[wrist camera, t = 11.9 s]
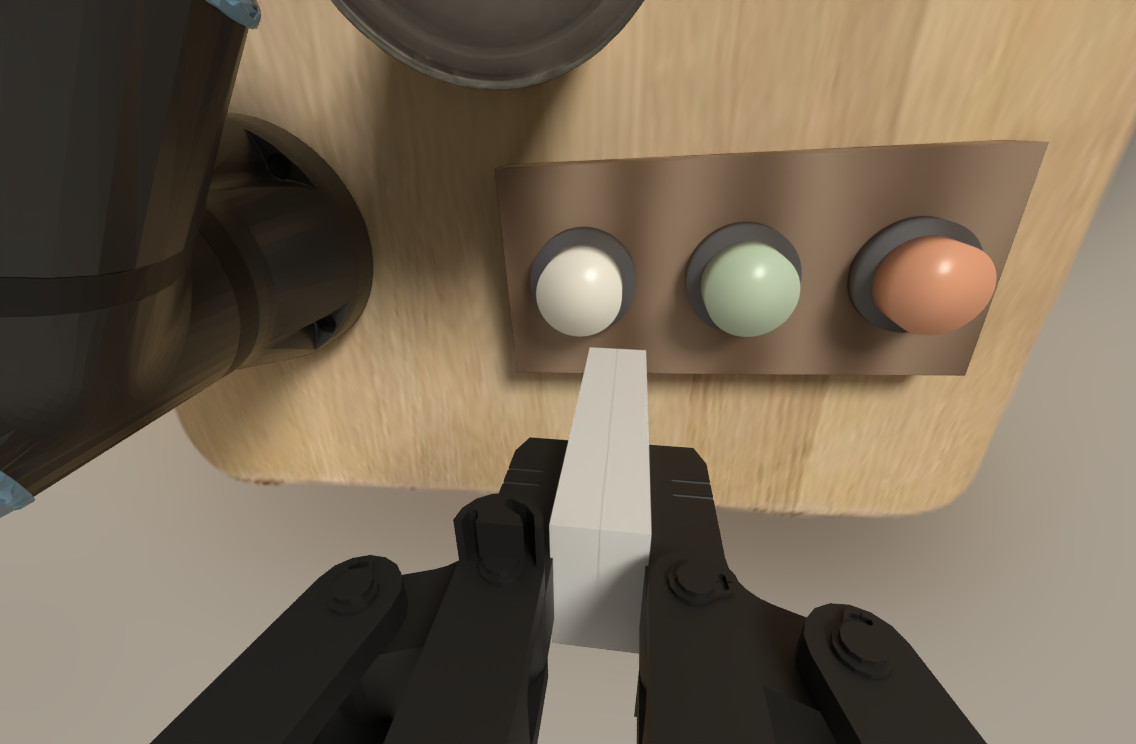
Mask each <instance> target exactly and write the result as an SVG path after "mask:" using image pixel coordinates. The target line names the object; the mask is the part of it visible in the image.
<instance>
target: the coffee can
mask: <svg viewBox="0 0 1136 744" xmlns="http://www.w3.org/2000/svg"><path fill="white" fill-rule="evenodd" d="M331 1H332V2H333V4H334V5H335V6H336V7H337V9H338V10H339V11H340V12H341V13H342V14H343V15H344V16H345V17H346V18H347V19H348V20H349V21H350V22H351V23H352V24H353V25H354V26H355V27H356V28H357V29H358V30H359V31H360V32H361V33H362V34H363V35H365V36H366V37H367V38H368V39H370V40H371V41H372V42H373V43H375V44H376V45H377V46H378V47H380V48H381V49H382V50H383V51H385V52H386V53H388V54H389V55H391V56H392V57H394V58H396V59H397V60H399V61H401V62H402V63H404V64H406V65H407V66H409V67H411V68H413V69H415V70H417V71H418V72H421V73H423V74H425V75H427V76H430V77H432V78H435V79H438V80H440V81H443V82H446V83H450V84H455V85H459V86H464V87H468V88H475V89H486V90H510V89H517V88H524V87H529V86H533V85H537V84H541V83H544V82H547V81H549V80H551V79H554V78H556V77H558V76H560V75H562V74H564V73H567V72H568V71H570V70H572V69H574V68H576V67H578V66H579V65H581V64H583V63H584V62H586V61H587V60H589V59H590V58H592V57H593V56H594V55H596V54H597V53H598V52H599V51H601V50H602V49H603V48H604V47H605V46H606V45H607V44H608V43H609V42H610V41H611V40H612V39H613V38H614V37H615V36H616V35H617V34H618V33H619V32H620V31H621V30H622V29H623V28H624V27H625V25H626V24H627V23H628V22H629V21H630V19H631V18H632V17H633V15H634V14H635V13H636V11H637V10H638V9H639V7H640V6H641V5H642V3H643V2H644V0H331Z"/></svg>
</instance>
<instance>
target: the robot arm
mask: <svg viewBox="0 0 1136 744" xmlns="http://www.w3.org/2000/svg"><path fill="white" fill-rule="evenodd" d="M260 19H261V11H260V7H259V5H258V3H257V1H256V0H0V518H1V517H3V516H5V515H6V514H8V513H10V512H12V511H14V510H18V509H22V508H23V507H25V506H27V505H29V504H30V503H32V502H34V501H35V499H34V496H36V495H37V494H39V493H40V492H42V491H44V490H45V489H47V488H48V487H50V486H52V485H53V484H55V483H56V482H58V481H59V480H61V479H63V478H64V477H66V476H67V475H69V474H70V473H72V472H74V471H75V470H77V469H79V468H80V467H82V466H83V465H85V464H86V463H88V462H90V461H91V460H92V459H94V458H96V457H97V456H99V455H101V454H102V453H104V452H105V451H107V450H109V449H110V448H112V447H113V446H115V445H116V444H118V443H120V442H121V441H123V440H124V439H126V438H128V437H129V436H131V435H132V434H134V433H135V432H137V431H139V430H140V429H142V428H144V427H145V426H147V425H148V424H150V423H151V422H153V421H155V420H156V419H158V418H159V417H161V416H162V415H164V414H166V413H167V412H169V411H170V410H172V409H174V408H175V407H177V406H178V405H180V404H182V403H183V402H185V401H186V400H188V399H190V398H191V397H193V396H194V395H196V394H197V393H199V392H201V391H202V390H204V389H205V388H207V387H209V386H210V385H212V384H213V383H215V382H216V381H218V380H219V379H221V378H223V377H224V376H226V375H227V374H229V373H231V372H232V371H234V370H237V369H242V368H247V367H252V366H257V365H262V364H268V363H273V362H278V361H283V360H288V359H293V358H298V357H302V356H305V355H308V354H311V353H313V352H315V351H317V350H319V349H321V348H323V347H325V346H326V345H328V344H329V343H331V342H332V341H333V340H335V339H336V338H338V337H339V336H340V335H342V334H343V333H344V332H346V331H347V330H348V329H349V328H350V327H351V326H352V325H353V324H354V323H355V322H356V320H357V319H358V318H359V316H360V315H361V313H362V311H363V310H364V307H365V305H366V303H367V300H368V297H369V294H370V290H371V285H372V277H373V259H372V251H371V245H370V240H369V236H368V232H367V229H366V226H365V223H364V221H363V218H362V216H361V213H360V211H359V209H358V207H357V205H356V203H355V201H354V199H353V198H352V196H351V194H350V192H349V191H348V189H347V188H346V186H345V185H344V183H343V182H342V181H341V179H340V178H339V177H338V175H337V174H336V173H335V172H334V170H333V169H332V168H331V167H330V166H329V165H328V164H327V163H326V162H325V160H323V159H322V158H321V157H320V156H319V155H318V154H317V153H316V152H315V151H314V150H313V149H312V148H310V147H309V146H308V145H307V144H305V143H304V142H303V141H301V140H300V139H298V138H297V137H295V136H294V135H292V134H291V133H289V132H287V131H286V130H284V129H282V128H280V127H278V126H276V125H274V124H271V123H269V122H267V121H264V120H261V119H258V118H255V117H251V116H246V115H241V114H231V113H227V112H228V108H229V104H230V100H231V96H232V92H233V88H234V84H235V80H236V76H237V72H238V68H239V64H240V61H241V57H242V53H243V49H244V45H245V41H246V37H247V33H248V29H249V28H251V29H257V27H258V25H259V23H260ZM453 521H454V528H455V535H456V542H457V549H458V556H459V561H457V562H455V563H453V564H450V565H448V566H445V567H442V568H438V569H434V570H428V571H423V572H416V573H411V574H405V575H401V572H400V570H399V568H398V566H397V564H395V563H394V562H392V561H390V560H389V559H387V558H386V557H380V556H373V555H368V556H362V557H356V558H352V559H349V560H347V561H345V562H342V563H340V564H338V565H335V566H334V567H332V568H331V569H330V570H328V571H327V572H326V573H325V574H324V575H322V576H321V577H319V578H318V579H317V580H316V581H315V582H314V583H313V584H312V585H311V586H310V587H309V588H308V589H307V590H306V591H305V592H304V593H303V594H302V595H301V596H300V597H299V598H298V599H297V600H296V601H295V602H294V603H293V604H292V605H291V606H290V607H289V608H288V609H287V610H286V611H285V612H283V613H282V614H281V616H279V617H278V618H277V619H276V620H275V621H274V622H273V623H272V624H271V625H270V626H269V627H268V628H267V629H266V630H265V631H264V632H263V633H262V634H261V635H260V636H259V637H258V638H257V639H256V640H255V641H254V642H253V643H252V644H251V645H250V646H249V647H248V648H247V649H246V650H245V651H244V652H243V653H242V654H241V655H240V656H239V657H238V658H237V659H236V660H235V661H234V662H232V663H231V665H229V666H228V667H227V668H226V669H225V670H224V671H223V672H222V674H220V675H219V676H218V677H217V678H216V679H215V680H214V681H213V682H212V683H211V684H210V685H209V686H208V687H207V688H206V689H205V690H204V691H203V692H202V693H201V694H200V695H199V696H198V697H197V698H196V699H195V700H194V701H193V702H192V703H191V704H190V705H189V706H188V707H187V708H186V709H185V710H184V711H183V712H181V714H179V715H178V717H176V718H175V719H174V720H173V721H172V722H171V723H170V724H169V725H168V726H167V727H166V728H165V729H164V730H163V731H162V732H161V733H160V734H159V735H158V736H157V737H156V738H155V739H154V740H153V741H152V742H151V743H150V744H537V742H538V736H539V730H540V723H541V717H542V711H543V705H544V698H545V693H546V687H547V680H548V651H549V646H550V640H551V635H552V642H553V643H559V644H567V645H575V646H583V647H591V648H599V649H607V650H615V651H623V652H631V653H639V676H638V685H637V695H636V704H635V714H634V716H635V717H637V744H987V743H986V742H985V741H984V740H983V738H982V737H981V735H980V734H979V733H978V732H977V730H976V729H975V728H974V727H973V725H972V724H971V723H970V721H969V720H968V719H967V717H966V716H965V715H964V714H963V712H962V711H961V710H960V708H959V707H958V706H957V704H956V703H955V702H954V701H953V699H952V698H951V697H950V695H949V694H948V693H947V692H946V690H945V689H944V688H943V686H942V685H941V684H940V683H939V681H938V680H937V679H936V677H935V676H934V675H933V674H932V672H931V671H930V670H929V668H928V667H927V666H926V664H925V663H924V662H923V661H922V659H921V658H920V657H919V656H918V654H917V653H916V652H915V650H914V649H913V648H912V646H911V645H910V644H909V643H908V642H907V641H906V640H905V639H904V638H903V637H902V636H901V635H900V634H899V633H898V632H897V631H896V630H895V629H894V628H893V627H892V626H891V625H890V624H888V623H886V622H885V621H883V620H882V619H880V618H879V617H877V616H875V615H874V614H872V613H871V612H868V611H865V610H862V609H860V608H857V607H854V606H851V605H846V604H845V605H844V604H832V603H830V604H826V605H823V606H820V607H817V608H814V610H813V611H812V612H811V613H810V614H809V616H808V617H807V618H806V617H804V616H801V615H798V614H796V613H793V612H791V611H788V610H785V609H783V608H780V607H777V606H775V605H772V604H770V603H768V602H766V601H764V600H762V599H760V598H758V597H757V596H755V595H754V594H752V593H751V592H749V591H748V590H746V589H745V588H744V587H743V586H742V585H741V584H740V583H739V582H738V580H737V578H736V576H735V575H734V573H733V572H732V571H731V570H730V569H729V568H728V565H727V562H726V559H725V555H724V550H723V545H722V540H721V535H720V530H719V526H718V521H717V515H716V510H715V505H714V500H713V495H712V490H711V485H710V480H709V475H708V470H707V465H706V463H705V462H704V461H703V459H702V458H701V457H700V456H699V454H698V453H697V452H696V451H695V450H694V448H685V447H672V446H659V445H649V432H648V398H647V364H646V350H630V349H611V348H591V347H590V349H589V353H588V357H587V362H586V366H585V371H584V375H583V379H582V384H581V388H580V393H579V397H578V401H577V406H576V410H575V414H574V419H573V423H572V428H571V432H570V436H569V440H557V439H543V438H529V439H528V440H527V441H525V442H524V443H523V444H522V445H521V446H520V447H519V448H518V449H517V450H515V453H514V455H513V458H512V461H511V463H510V466H509V470H508V471H507V473H506V476H505V479H504V484H502V486H501V489H500V492H499V494H490V495H487V496H484V497H481V498H477V499H475V500H474V501H472V502H471V503H469V504H467V505H466V506H464V507H463V508H462V509H461V510H460V512H459V513H458V514H457V516H456V517H455V518H454V520H453Z"/></svg>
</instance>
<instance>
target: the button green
mask: <svg viewBox="0 0 1136 744" xmlns="http://www.w3.org/2000/svg"><path fill="white" fill-rule="evenodd" d="M701 295H702V298H703V301H704V304H705V306H706V309H707V311H708V313H709V316H710V318H711V319H712V321H713V322H714V323H715V324H716V325H717V326H718V327H719V328H720V329H722V330H723V331H725V332H727V333H729V334H732V335H735V336H741V337H753V336H759V335H762V334H766V333H768V332H770V331H772V330H774V329H776V328H777V327H779V326H780V325H781V324H783V323H784V322H785V321H786V320H787V319H788V318H789V317H790V315H791V314H792V312H793V311H794V309H795V307H796V305H797V303H798V300H799V296H800V280H799V276H798V273H797V271H796V269H795V268H794V266H793V265H792V264H791V262H789V261H788V260H787V259H786V258H785V257H784V256H783V255H782V254H781V253H779V252H778V251H777V250H776V249H775V248H773V247H772V246H770V245H768V244H766V243H763V242H759V241H741V242H736V243H733V244H731V245H729V246H727V247H725V248H723V249H722V250H720V251H719V252H718V253H716V254H715V255H714V256H713V257H712V258H711V260H710V261H709V262H708V264H707V266H706V267H705V269H704V272H703V274H702V278H701Z"/></svg>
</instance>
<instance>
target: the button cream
mask: <svg viewBox="0 0 1136 744" xmlns="http://www.w3.org/2000/svg"><path fill="white" fill-rule="evenodd" d="M622 287H623V283H622V276H621V272H620V269H619V267H618V265H617V264H616V262H615V261H614V260H613V259H612V257H611V256H610V255H608V254H607V253H606V252H604V251H603V250H601V249H599V248H597V247H594V246H590V245H574V246H570V247H567V248H564V249H563V250H561V251H559V252H558V253H557V254H555V255H554V256H553V257H552V258H551V260H550V261H549V263H548V264H547V266H546V267H545V269H544V271H543V272H542V274H541V276H540V278H539V281H538V284H537V289H536V299H537V304H538V308H539V310H540V312H541V314H542V316H543V317H544V319H545V320H546V321H547V322H548V323H549V324H550V325H551V326H552V327H553V328H555V329H556V330H558V331H560V332H562V333H564V334H567V335H571V336H579V337H582V336H590V335H593V334H596V333H598V332H601V331H602V330H604V329H605V328H607V327H608V326H609V325H610V324H611V323H612V322H613V321H614V319H615V318H616V316H617V314H618V312H619V310H620V307H621V302H622Z"/></svg>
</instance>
